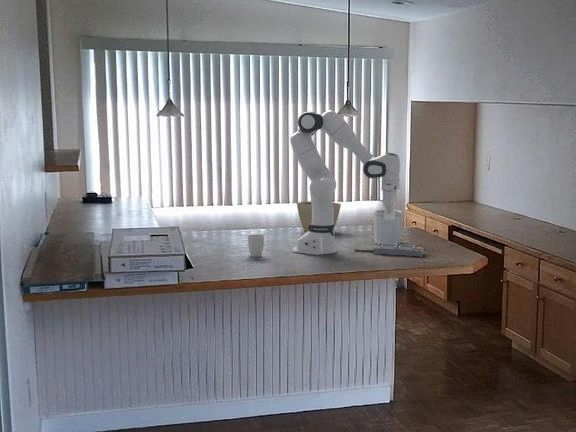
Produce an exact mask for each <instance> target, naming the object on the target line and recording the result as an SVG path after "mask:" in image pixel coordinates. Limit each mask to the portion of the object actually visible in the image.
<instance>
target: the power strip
mask: <svg viewBox="0 0 576 432" xmlns="http://www.w3.org/2000/svg"><path fill="white" fill-rule="evenodd" d="M398 245H399V246H398ZM424 250H425V249H424V247H422V246H421V247H419V246H417V247H416V245H414V244H403V243H402V244H400V243H399V244H386V243H382V245H379V244H376V245H375V246H374V247H373V249H365V248H364V249H362V248H355V249H354V251H355V252H363V253H364V252H366V253H373V255H381V254H387V256H396V255H406V256H405V257H411V256H420V257H419V258H422V257H423V256H422V255H424V252H425V251H424Z"/></svg>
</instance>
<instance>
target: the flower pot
mask: <svg viewBox="0 0 576 432" xmlns="http://www.w3.org/2000/svg"><path fill="white" fill-rule="evenodd" d="M341 205H342V204H341V203H338V202H333V208H334V227H335V228H336V224H337V222H338V218H339V215H340V210H341ZM296 207H297V213H298V217H299V220H300V221H299V222H300V225H301V227H302V229H303V231H304V232H308V231H309V230H308V225H309V224H310V223H312V204H311V200H310V201H300V202H296Z"/></svg>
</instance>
